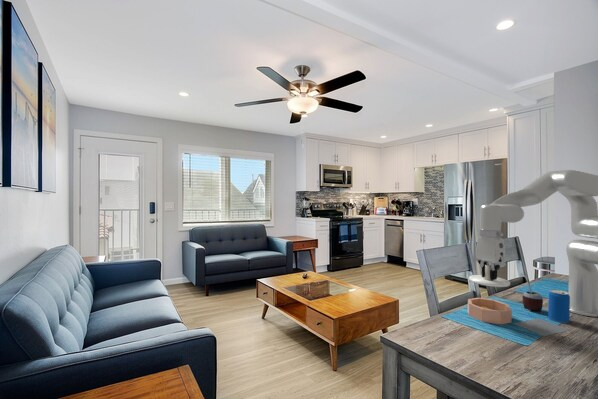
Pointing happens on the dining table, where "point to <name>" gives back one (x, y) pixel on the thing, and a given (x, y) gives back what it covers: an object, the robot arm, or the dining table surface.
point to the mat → (541, 327)
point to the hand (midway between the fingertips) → (489, 277)
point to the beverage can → (559, 306)
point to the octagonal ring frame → (489, 311)
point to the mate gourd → (532, 299)
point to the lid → (486, 280)
